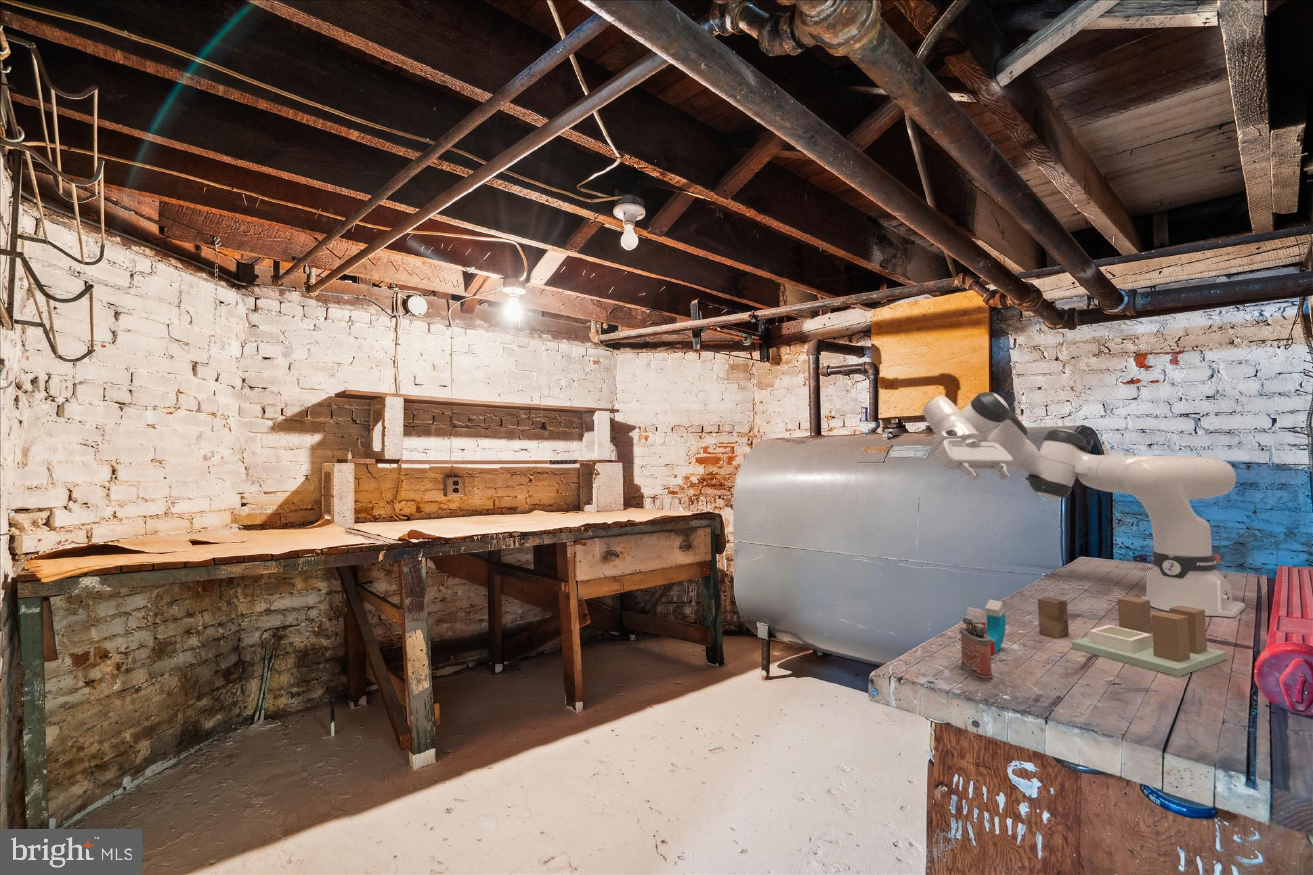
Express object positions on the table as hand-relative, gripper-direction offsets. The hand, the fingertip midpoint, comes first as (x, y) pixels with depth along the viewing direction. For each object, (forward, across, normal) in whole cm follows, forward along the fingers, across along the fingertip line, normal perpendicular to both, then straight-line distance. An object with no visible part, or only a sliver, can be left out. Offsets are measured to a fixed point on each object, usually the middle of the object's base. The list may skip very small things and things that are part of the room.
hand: (990, 478), depth 147 cm
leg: (+37, 0, -12) cm, 39 cm away
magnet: (+41, +22, -9) cm, 48 cm away
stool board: (+47, -6, -1) cm, 48 cm away
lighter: (+47, +33, -4) cm, 58 cm away
